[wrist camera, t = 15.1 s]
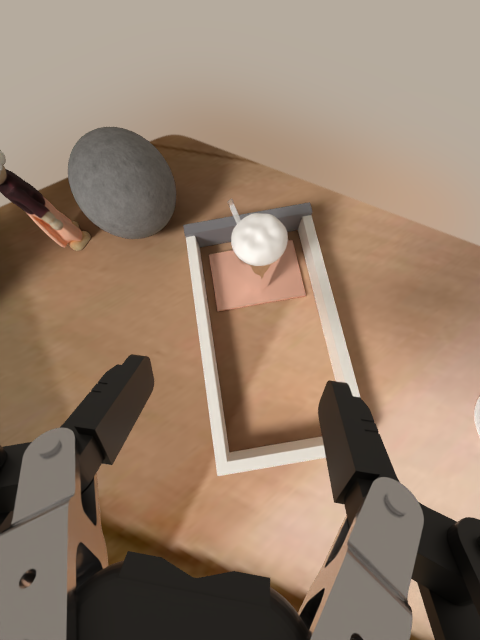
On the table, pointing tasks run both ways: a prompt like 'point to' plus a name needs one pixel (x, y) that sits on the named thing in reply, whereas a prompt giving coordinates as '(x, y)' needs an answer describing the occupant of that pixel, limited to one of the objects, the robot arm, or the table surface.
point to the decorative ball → (122, 182)
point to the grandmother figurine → (41, 210)
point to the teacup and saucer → (477, 415)
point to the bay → (239, 295)
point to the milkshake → (257, 246)
